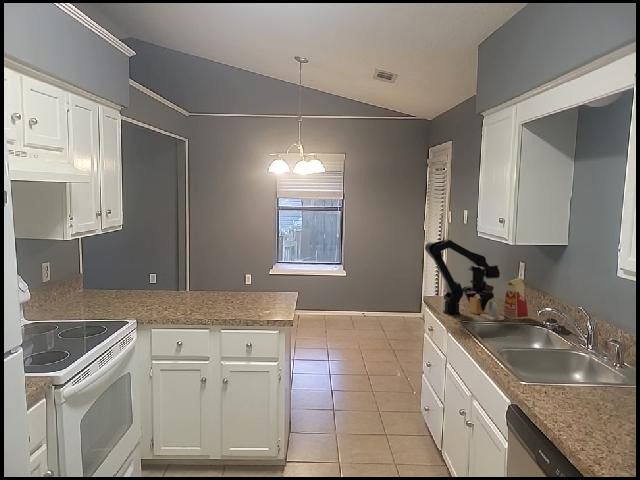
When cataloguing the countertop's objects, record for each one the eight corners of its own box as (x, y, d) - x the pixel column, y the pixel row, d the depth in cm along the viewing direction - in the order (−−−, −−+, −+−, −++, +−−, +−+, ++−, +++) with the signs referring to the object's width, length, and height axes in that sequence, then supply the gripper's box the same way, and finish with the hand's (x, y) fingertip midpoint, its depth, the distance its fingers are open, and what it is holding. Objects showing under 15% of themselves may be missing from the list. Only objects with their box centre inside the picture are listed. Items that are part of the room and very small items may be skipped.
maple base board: (492, 320, 229) (492, 318, 229) (480, 316, 237) (480, 313, 237) (504, 319, 231) (504, 317, 231) (492, 315, 240) (492, 312, 239)
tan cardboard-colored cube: (476, 313, 242) (476, 299, 241) (469, 311, 247) (469, 297, 247) (485, 313, 244) (485, 298, 243) (478, 310, 249) (478, 296, 248)
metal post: (492, 316, 232) (492, 303, 232) (488, 315, 235) (488, 302, 234) (496, 315, 233) (496, 303, 233) (493, 314, 236) (493, 301, 235)
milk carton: (516, 313, 242) (517, 275, 240) (529, 318, 233) (531, 278, 231) (501, 315, 239) (502, 276, 237) (514, 319, 230) (515, 279, 228)
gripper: (503, 281, 238) (502, 311, 239) (480, 275, 255) (479, 303, 257) (484, 282, 234) (483, 313, 236) (462, 276, 252) (461, 305, 253)
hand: (477, 308), depth 245 cm, fingers open, 9 cm apart
